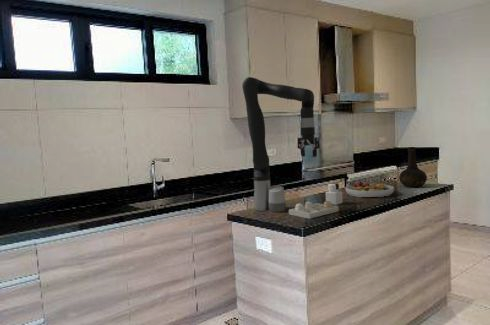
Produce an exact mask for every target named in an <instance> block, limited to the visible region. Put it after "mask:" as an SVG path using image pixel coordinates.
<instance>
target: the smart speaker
mask: <svg viewBox="0 0 490 325" xmlns="http://www.w3.org/2000/svg"><path fill="white" fill-rule="evenodd" d="M286 206H287V205H286V198H285V189H284V187H283V186H281V185H277V186H273V187H270V190H269V210H268V211H270V212H271V213H281V212H284V211H286Z"/></svg>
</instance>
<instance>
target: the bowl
mask: <svg viewBox="0 0 490 325" xmlns="http://www.w3.org/2000/svg"><path fill="white" fill-rule="evenodd" d="M394 190H395V187H394V186H393V185H389V184H384V183H369V182H368V181H363V182H362V181H360V180H357V181H355V182H353V184H350V185H346V186H345V192H346V194H347V195H349V196H351V197H354V196H355V198H361V197H378V198H385V197H384V196H386V197H388V196H391V195H392V194H393V193H394Z"/></svg>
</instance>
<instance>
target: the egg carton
mask: <svg viewBox="0 0 490 325" xmlns="http://www.w3.org/2000/svg"><path fill="white" fill-rule="evenodd" d="M312 204H313V208H311V209H307V208H305V205H303V207H304V210H302V211H296V210H295V207H294V208H289V209H288V215H291V216H295V217H301V218H305V219H313V218H317V217H321V216H324V215H325V216H326V215H330V214H332V213H337V212H339V211H340V210H339V206H337V205H332V208H324V203H318V202H317V203H312Z"/></svg>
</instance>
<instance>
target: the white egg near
mask: <svg viewBox="0 0 490 325" xmlns="http://www.w3.org/2000/svg"><path fill="white" fill-rule="evenodd" d="M303 206H304V205H303V204H302V203H300V202H299V203H296V205H295V206H294V208H295V210H296V211H302V210H304V207H303Z"/></svg>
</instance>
